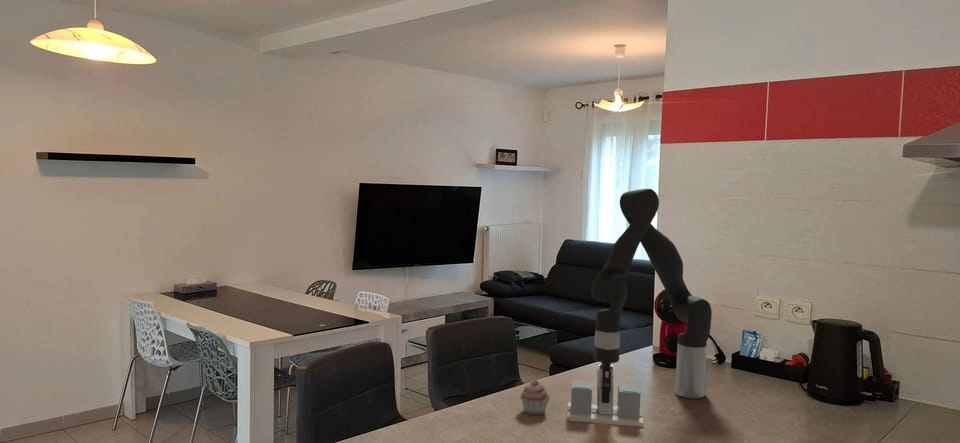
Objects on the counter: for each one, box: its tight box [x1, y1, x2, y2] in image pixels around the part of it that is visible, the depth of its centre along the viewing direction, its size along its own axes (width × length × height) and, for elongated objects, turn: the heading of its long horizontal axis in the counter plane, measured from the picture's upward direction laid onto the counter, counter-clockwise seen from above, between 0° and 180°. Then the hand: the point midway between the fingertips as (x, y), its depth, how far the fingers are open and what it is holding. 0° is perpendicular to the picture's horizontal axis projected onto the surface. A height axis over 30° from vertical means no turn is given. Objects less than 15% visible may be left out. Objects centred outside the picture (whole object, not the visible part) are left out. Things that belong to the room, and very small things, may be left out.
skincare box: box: [596, 368, 614, 414], centre depth 189 cm, size 6×4×12 cm
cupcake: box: [519, 379, 551, 416], centre depth 191 cm, size 9×9×10 cm
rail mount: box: [566, 379, 644, 428], centre depth 189 cm, size 22×12×9 cm, turn 81°
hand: (605, 398), depth 189 cm, fingers open, 7 cm apart
